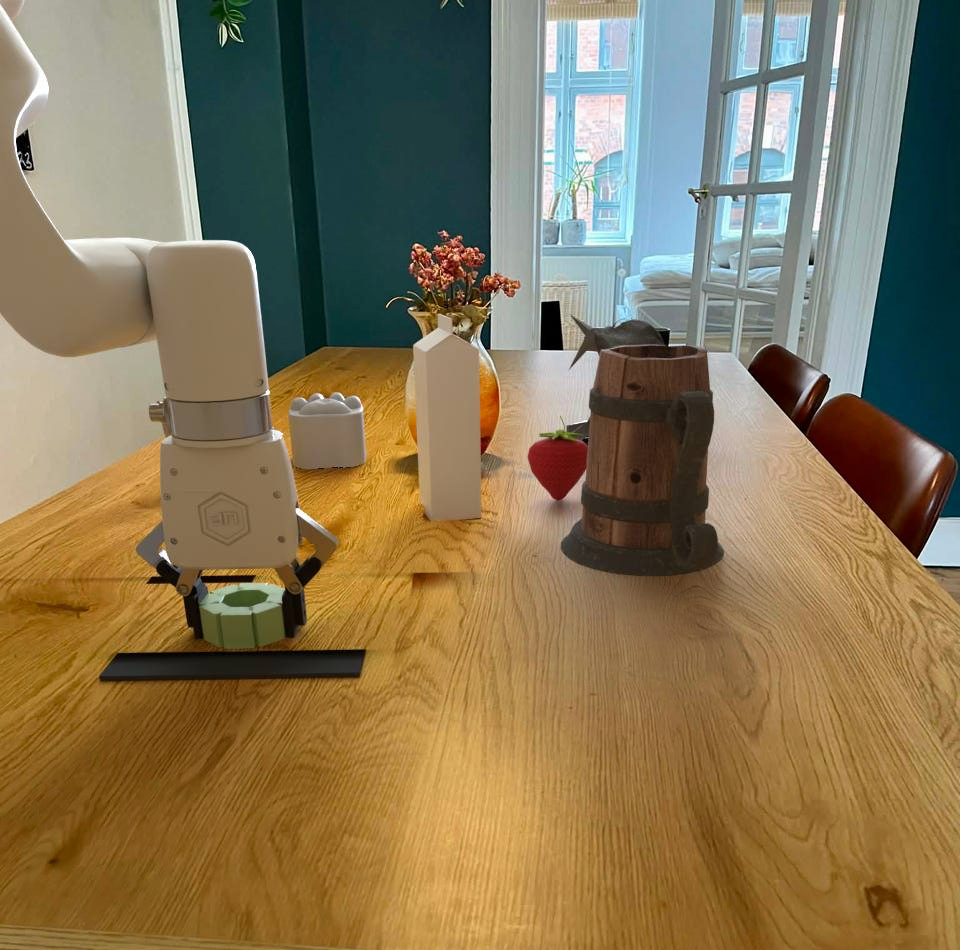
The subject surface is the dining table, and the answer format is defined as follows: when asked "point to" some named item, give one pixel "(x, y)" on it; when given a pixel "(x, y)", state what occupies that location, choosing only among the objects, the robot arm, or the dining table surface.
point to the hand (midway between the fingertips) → (249, 632)
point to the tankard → (647, 464)
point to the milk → (448, 424)
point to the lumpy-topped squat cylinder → (327, 432)
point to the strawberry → (558, 461)
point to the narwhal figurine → (609, 338)
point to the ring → (243, 616)
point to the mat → (234, 665)
